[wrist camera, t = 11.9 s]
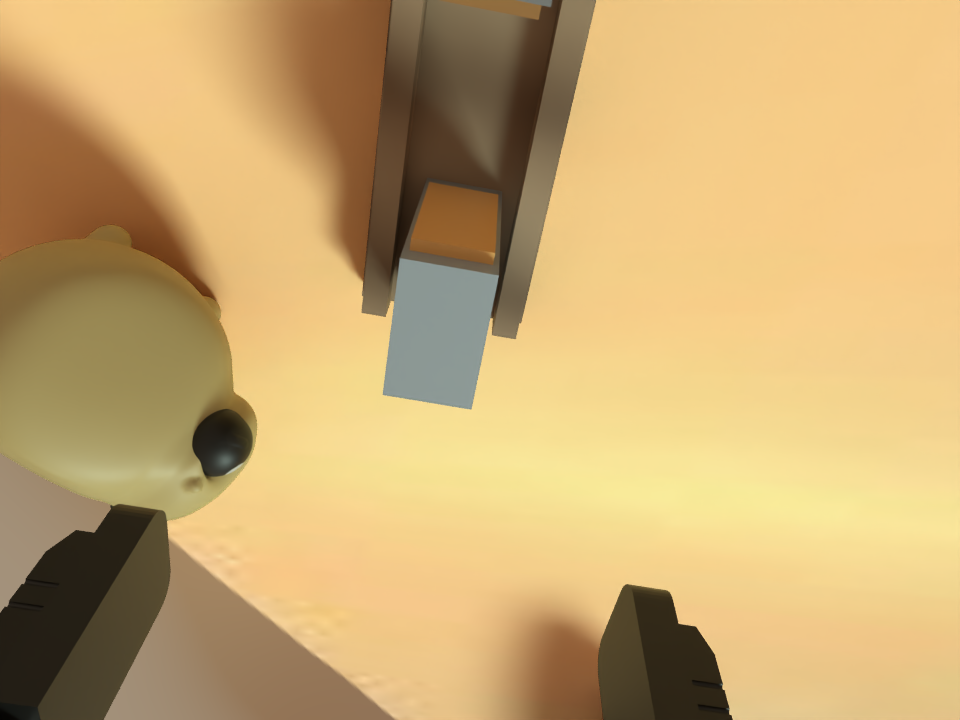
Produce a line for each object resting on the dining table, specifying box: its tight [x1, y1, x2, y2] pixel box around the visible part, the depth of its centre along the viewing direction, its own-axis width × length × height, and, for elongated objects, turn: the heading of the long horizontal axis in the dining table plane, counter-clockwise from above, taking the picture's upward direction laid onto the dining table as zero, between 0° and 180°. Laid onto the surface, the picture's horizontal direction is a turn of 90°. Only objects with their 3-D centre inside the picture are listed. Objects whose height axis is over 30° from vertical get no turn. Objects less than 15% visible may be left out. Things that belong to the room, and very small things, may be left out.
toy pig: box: [0, 225, 257, 521], centre depth 29 cm, size 10×12×11 cm
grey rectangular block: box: [383, 178, 502, 409], centre depth 26 cm, size 5×3×8 cm, turn 170°
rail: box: [362, 0, 596, 339], centre depth 23 cm, size 20×7×9 cm, turn 170°
